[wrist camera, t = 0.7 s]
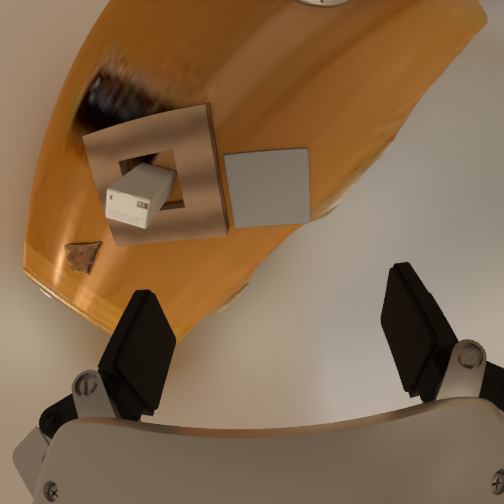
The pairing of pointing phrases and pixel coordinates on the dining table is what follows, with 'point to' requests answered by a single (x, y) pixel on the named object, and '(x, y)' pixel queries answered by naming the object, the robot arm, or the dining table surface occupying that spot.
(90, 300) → the dining table surface
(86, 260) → the shard
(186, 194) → the walnut holder
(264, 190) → the grey mat
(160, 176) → the skincare box
